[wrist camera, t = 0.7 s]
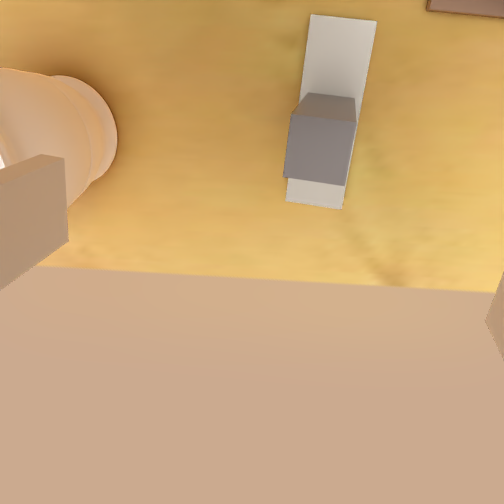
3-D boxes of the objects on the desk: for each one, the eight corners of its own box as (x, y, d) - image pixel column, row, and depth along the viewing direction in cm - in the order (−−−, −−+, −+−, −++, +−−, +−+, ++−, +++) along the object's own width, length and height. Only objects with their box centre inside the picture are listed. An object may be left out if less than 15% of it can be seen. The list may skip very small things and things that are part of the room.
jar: (29, 33, 36) (-165, 29, 22) (151, 103, 36) (33, 141, 23) (-3, 156, 40) (-180, 215, 27) (106, 217, 41) (-15, 305, 27)
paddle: (314, 16, 32) (293, 2, 20) (374, 22, 31) (390, 12, 20) (290, 189, 37) (262, 258, 25) (342, 197, 36) (338, 271, 25)
